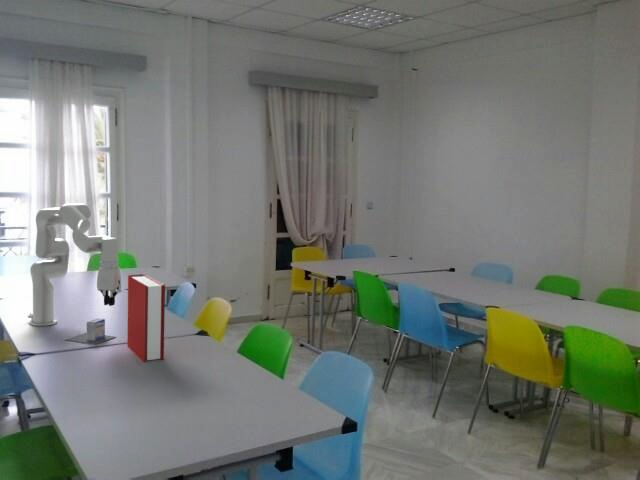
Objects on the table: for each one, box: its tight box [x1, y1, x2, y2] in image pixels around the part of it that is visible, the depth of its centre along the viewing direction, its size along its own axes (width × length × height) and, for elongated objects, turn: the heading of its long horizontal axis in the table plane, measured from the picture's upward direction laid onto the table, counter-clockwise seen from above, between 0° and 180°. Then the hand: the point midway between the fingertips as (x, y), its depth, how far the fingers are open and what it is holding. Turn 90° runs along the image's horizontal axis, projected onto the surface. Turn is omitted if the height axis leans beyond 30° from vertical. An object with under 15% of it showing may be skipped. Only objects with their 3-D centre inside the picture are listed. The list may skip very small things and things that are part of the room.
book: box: [126, 273, 166, 363], centre depth 258 cm, size 27×8×32 cm, turn 33°
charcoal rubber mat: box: [64, 332, 117, 346], centre depth 276 cm, size 17×14×1 cm
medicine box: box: [86, 318, 106, 341], centre depth 275 cm, size 8×4×9 cm, turn 166°
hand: (109, 304), depth 272 cm, fingers closed
